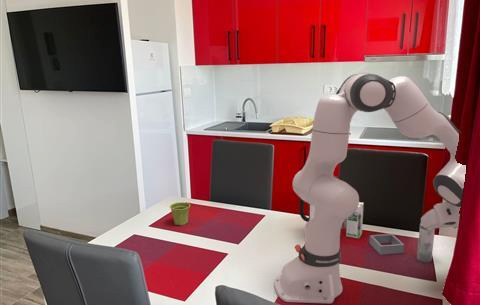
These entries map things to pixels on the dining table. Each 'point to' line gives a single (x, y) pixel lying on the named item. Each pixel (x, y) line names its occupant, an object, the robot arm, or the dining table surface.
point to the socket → (386, 249)
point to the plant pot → (180, 212)
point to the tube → (425, 244)
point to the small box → (344, 224)
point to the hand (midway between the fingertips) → (442, 227)
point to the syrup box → (355, 222)
